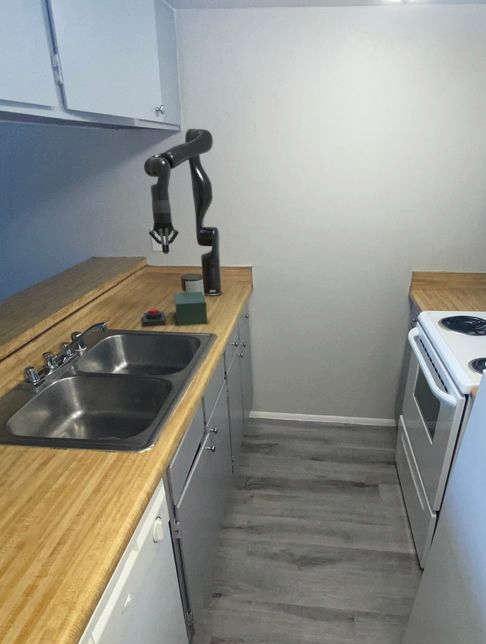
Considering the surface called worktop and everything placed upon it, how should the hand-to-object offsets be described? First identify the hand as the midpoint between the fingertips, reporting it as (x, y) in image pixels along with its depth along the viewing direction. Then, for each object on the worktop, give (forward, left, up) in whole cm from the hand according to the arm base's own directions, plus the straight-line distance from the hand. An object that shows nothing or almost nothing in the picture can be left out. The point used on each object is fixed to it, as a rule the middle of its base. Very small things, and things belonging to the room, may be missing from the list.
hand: (166, 253), depth 205 cm
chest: (+10, +8, -27) cm, 30 cm away
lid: (+10, +8, -18) cm, 22 cm away
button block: (+10, -8, -27) cm, 30 cm away
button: (+10, -8, -23) cm, 27 cm away
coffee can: (-10, +11, -27) cm, 31 cm away
